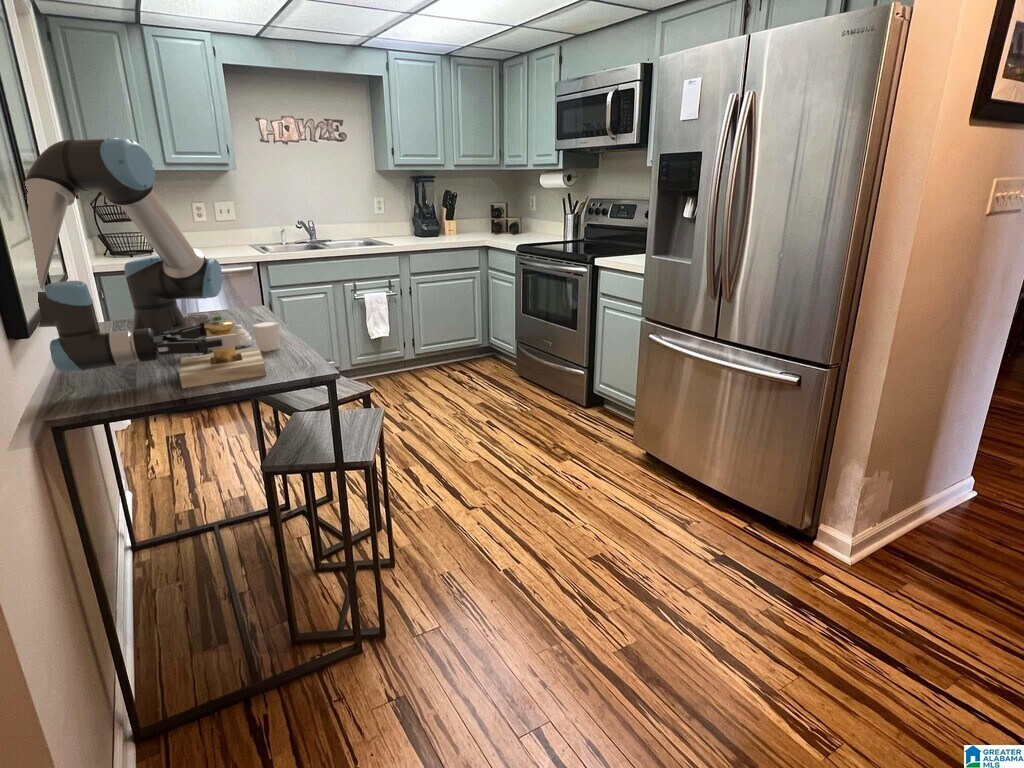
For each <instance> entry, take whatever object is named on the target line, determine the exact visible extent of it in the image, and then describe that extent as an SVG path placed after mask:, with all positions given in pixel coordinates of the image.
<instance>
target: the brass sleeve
mask: <svg viewBox="0 0 1024 768" xmlns="http://www.w3.org/2000/svg"><path fill="white" fill-rule="evenodd" d="M204 327H205V331H209V335H210V337H214V336H222V335H229V334H233V333H232V329H231V328H233V327H235V323H234V320H229V319H221V320H220V321H213V322H209V323H206V324H204ZM212 350H213V351H212V354H214V359H215V364H220V363H227V362H234V361H238V359H237V354H236V347H235V346H231V347H224V348H216V349H212Z"/></svg>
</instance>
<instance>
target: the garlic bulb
mask: <svg viewBox="0 0 1024 768" xmlns="http://www.w3.org/2000/svg"><path fill="white" fill-rule="evenodd" d="M234 327H235V332H236V333H232V334H237V339H238V346H235V348H243V347H242V346H245V347H248V346H247V345H249V346H251V345H250V344H252V341H253V339H252V336H251V335H250V333H249V332H248V331H247V330H246V329H244V327H243V326H242V325H241V324H236V325H235V324H234Z"/></svg>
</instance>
